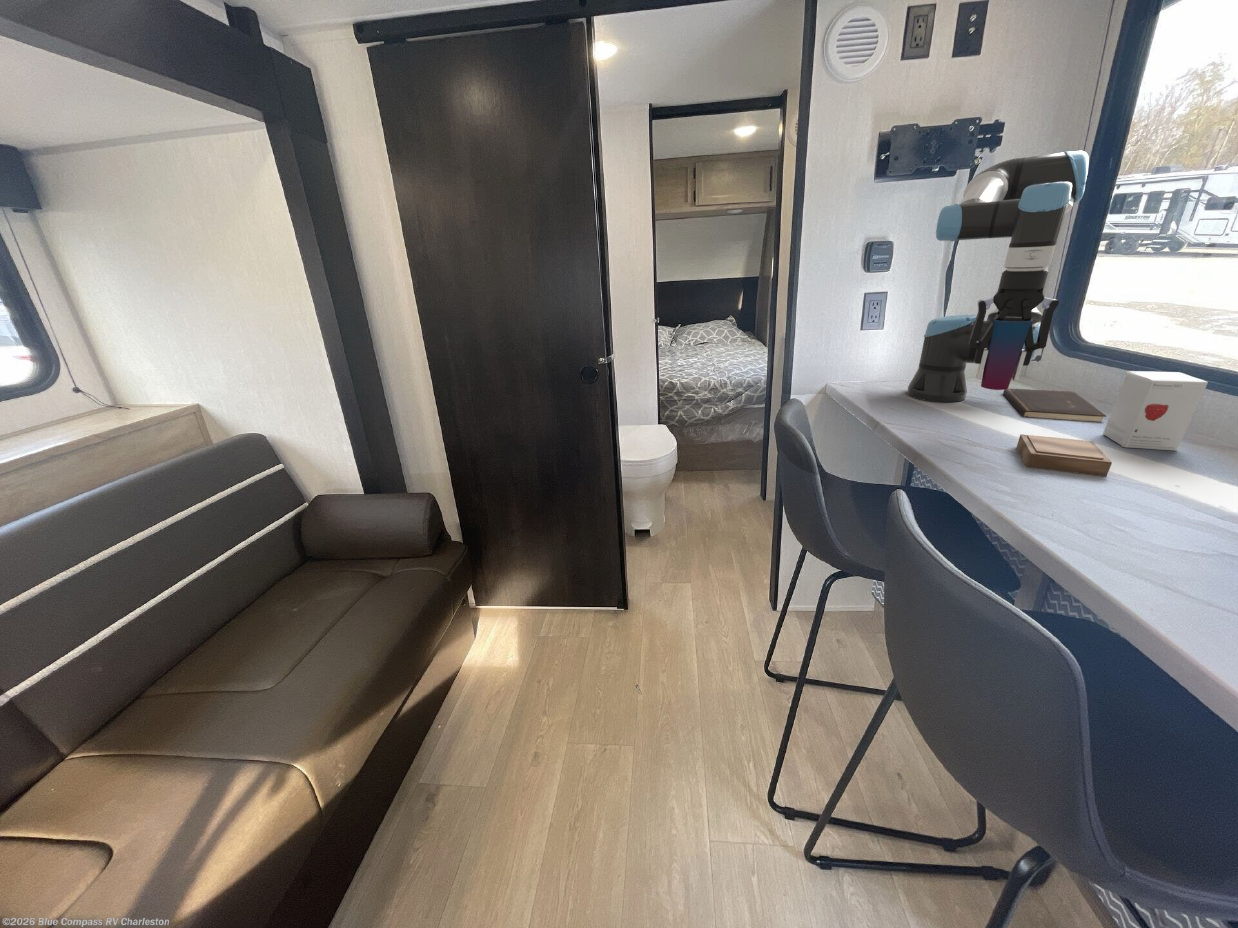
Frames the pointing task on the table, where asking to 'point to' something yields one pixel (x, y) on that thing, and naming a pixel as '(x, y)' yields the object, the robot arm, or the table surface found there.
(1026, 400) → the hardcover book
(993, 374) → the cup
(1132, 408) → the supplement box
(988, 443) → the table surface
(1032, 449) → the pedestal
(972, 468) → the table surface
